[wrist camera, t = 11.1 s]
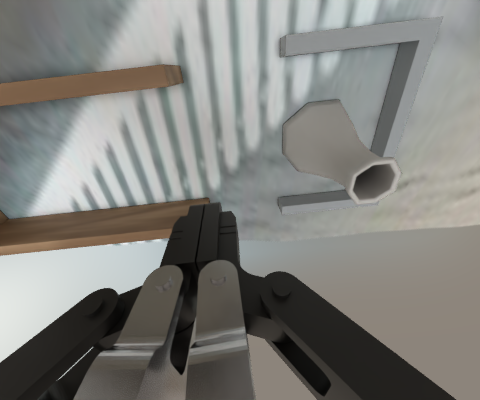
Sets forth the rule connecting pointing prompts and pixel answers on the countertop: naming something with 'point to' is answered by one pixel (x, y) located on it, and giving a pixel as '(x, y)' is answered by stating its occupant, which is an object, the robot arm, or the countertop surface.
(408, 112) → the dock
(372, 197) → the flask
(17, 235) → the open wooden frame
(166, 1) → the countertop surface
